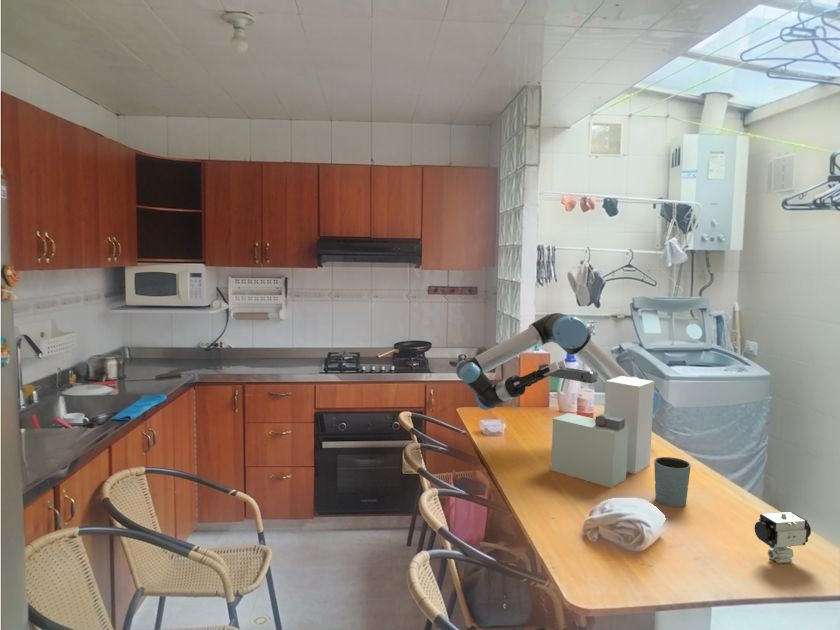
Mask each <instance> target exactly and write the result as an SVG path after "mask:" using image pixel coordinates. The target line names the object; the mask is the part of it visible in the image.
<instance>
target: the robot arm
mask: <svg viewBox="0 0 840 630" xmlns="http://www.w3.org/2000/svg"><path fill="white" fill-rule="evenodd" d="M548 343H553V344H557V345H558V346H559V347H560V348H561V349H563V351H564V352H566V353H567V354H568V355H569V356H576V357H577V359H579V360H580V361H581V362H582V363H583V364H585V365H586V366H587V368H589V369H590V371H592V370H594V371H596V372H597V374H598V378H599V379H600V380H602V382H604V384H605V383H606V381H607V380H610V379H613V378H616V377H619V376H625V377H631V378H637V379H640V378H639V377H637V376H635V375H634V376H631V375H630V374H629V373H628V372H627V371H626V370H625V369H624V368H623V367H621V365H620V364H618V363H617V362H616V361H615V360H614V359H613V358H612V357H611V356H610V355H609V354H608V353H607V352H606V351H605V350H603V349H602V348H601V346H600V345H598V343H596V342H595V341H594V340H593V339H592V333H591V331H589V330H588V328H587V326H586V324H585V322H583V321H582V319H580V318H578V317H577V316H574V315H568V314H563V313H559V312H554V313H550V314H548V315H546V316H544V317H541V318H540V319H538V320H536V321H534V322H533V323H531V324H529V325H528V328H527V329H525V330H523V331H521V332H519V333H517V334H515V335H513V336H511V337H510V338H508V339H505V340H504V341H501V343H499V344H497V345H495V346H493V347H491V348H489V349H487V350H485V351H484V352H482V353H479V354H478V355H475V356H474V357H472V358H470V359H469V360H461V361H459V362H458V363H457V364H456V366H455V373H456V375H457V378H458V379H460V380H461V381H462V382H463V383H465V385H466V386H468V387H469V388H470V390H471V391H473V392H474V394H475V402H476V403H477V407H479V409H481V410H483V411H487V410H491V409H495V408H496V407H497V406H500V405H502V404H504V403H506V402H508V403H511V402H512V400H513V399H515V398H519V397H520V396H522V395H525V392H526V388H529V387H531V386H532V385H533V384H536V383H538V382H539V381H541V380H543V379H546V378H548V377H549V376H547V375H548V374H550V373H552V372H555V371H557V370H559V369H560V368H559V366H560V367H566V368H568V366H567V364H566V361H565V360H561V361H558V362H557V361H555V362H553V363H551V364H548V366H546V367H544V368H542V369H541V370H539V369H537V370H533V371H532V372H530V373H528V374H526V375H525V374H524V375H523V376H518V374H517V375H516V374H514V375H512V376H510V377H508V378H505V379H504V380H501V381H499V382H497V383H495V384H494V383H493V382H492V380H490V379H489V377H488V376H487V375H486V373H488V372H490V371H492V370H493V369H495V368H497V367H499V366H501V365H502V364H505V363H506V362H508V361H510V360H512V359H514V358H516V357H518V356H519V355H522V354H524V353H525V352H528V351H529V350H531V349H534V348H535V347H537V346H540V347H541V346H544V345H546V344H548ZM660 406H661V397H660V394H659V393H658V392H657V391H656V390H655V389H654V397H653V415H655V414H656V413H657V412H658V410H659V408H660Z"/></svg>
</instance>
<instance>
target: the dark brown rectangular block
mask: <svg viewBox="0 0 840 630" xmlns="http://www.w3.org/2000/svg"><path fill="white" fill-rule="evenodd" d="M548 365H549V364H547V363H546V364H545V363H542V364H538V370H541V369H542V368H544V367H546V366H548ZM559 368H560V369H559V370H557V371H555V372H552V373H550V374H548V375H547V376H548V377H554V378H559V379H565V380H570V381H576V382H582V383H584V384H586V383H587V384H594V383H597V382H598V378H599V377H598V374H597V372H596V371H594V370H589V371H588V370H583V369H576V368H571V367H567V368H566V367H560V366H559Z"/></svg>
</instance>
